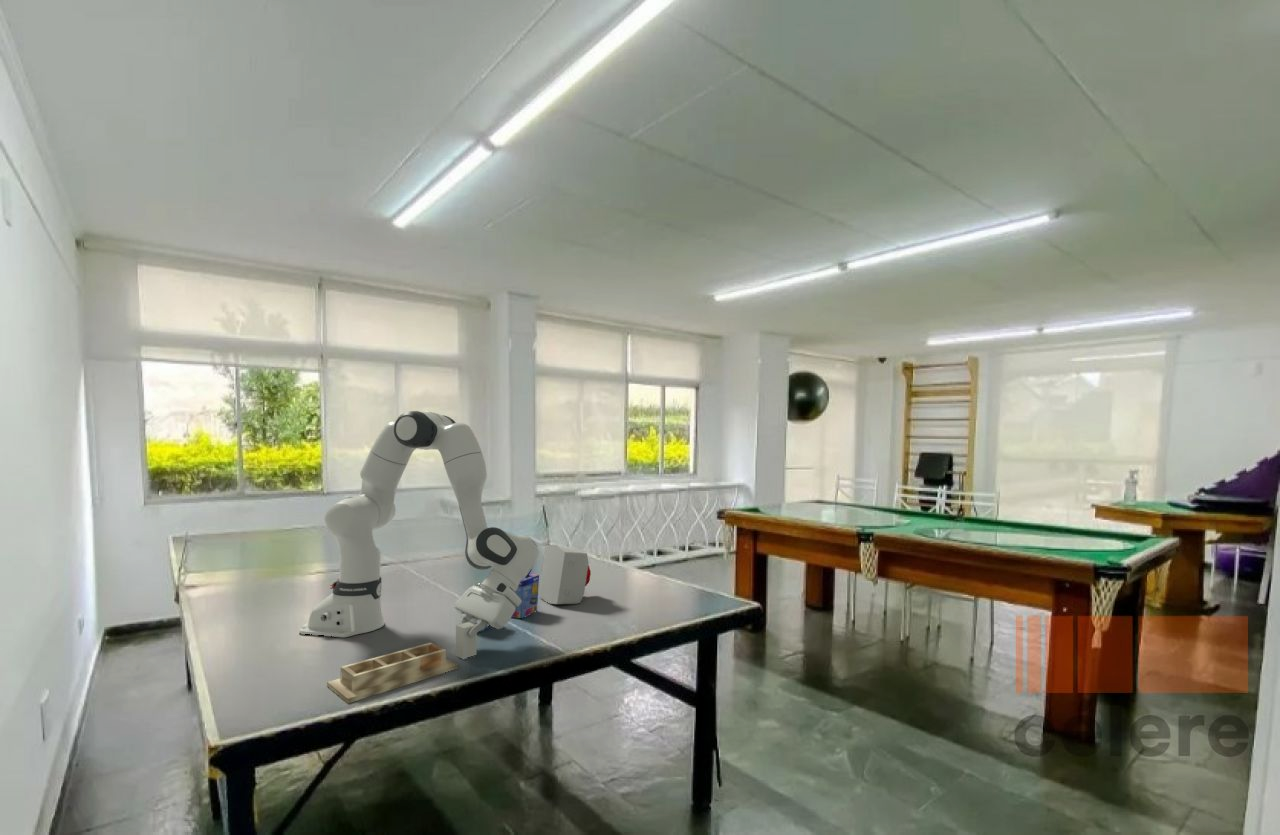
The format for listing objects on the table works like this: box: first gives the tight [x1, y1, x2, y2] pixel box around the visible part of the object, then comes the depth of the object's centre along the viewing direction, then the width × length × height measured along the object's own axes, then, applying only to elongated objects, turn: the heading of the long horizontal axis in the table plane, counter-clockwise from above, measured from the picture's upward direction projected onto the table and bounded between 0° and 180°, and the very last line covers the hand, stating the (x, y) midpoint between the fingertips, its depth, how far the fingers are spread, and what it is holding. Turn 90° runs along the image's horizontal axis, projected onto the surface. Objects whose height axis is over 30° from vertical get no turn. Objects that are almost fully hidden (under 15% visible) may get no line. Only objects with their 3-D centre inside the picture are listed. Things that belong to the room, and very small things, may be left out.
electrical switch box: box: [538, 544, 591, 605], centre depth 206 cm, size 15×15×20 cm
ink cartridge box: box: [511, 568, 540, 619], centre depth 188 cm, size 10×6×14 cm, turn 158°
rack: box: [326, 642, 458, 704], centre depth 137 cm, size 26×12×4 cm, turn 138°
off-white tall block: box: [455, 622, 478, 660], centre depth 152 cm, size 4×4×8 cm
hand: (464, 633), depth 151 cm, fingers closed on off-white tall block, 3 cm apart
